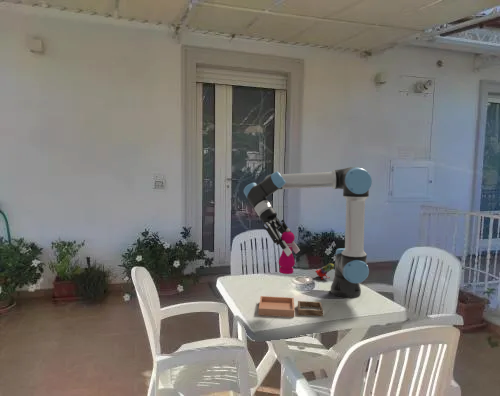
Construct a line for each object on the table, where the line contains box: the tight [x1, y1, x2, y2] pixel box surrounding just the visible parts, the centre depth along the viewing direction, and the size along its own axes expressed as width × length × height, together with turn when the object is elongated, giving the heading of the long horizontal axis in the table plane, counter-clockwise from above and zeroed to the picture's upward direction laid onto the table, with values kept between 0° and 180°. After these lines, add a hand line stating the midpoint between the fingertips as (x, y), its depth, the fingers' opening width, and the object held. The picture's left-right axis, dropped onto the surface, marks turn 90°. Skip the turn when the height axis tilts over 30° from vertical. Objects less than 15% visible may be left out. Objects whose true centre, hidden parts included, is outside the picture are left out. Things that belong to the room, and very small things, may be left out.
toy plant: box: [315, 262, 335, 280], centre depth 227 cm, size 8×10×12 cm
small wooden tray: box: [297, 300, 324, 317], centre depth 178 cm, size 11×11×2 cm
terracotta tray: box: [257, 295, 295, 318], centre depth 179 cm, size 16×16×3 cm
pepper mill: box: [278, 227, 296, 275], centre depth 176 cm, size 7×7×20 cm
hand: (293, 253), depth 174 cm, fingers closed on pepper mill, 6 cm apart
